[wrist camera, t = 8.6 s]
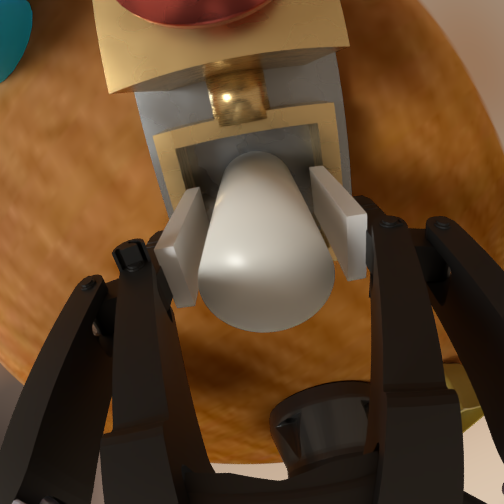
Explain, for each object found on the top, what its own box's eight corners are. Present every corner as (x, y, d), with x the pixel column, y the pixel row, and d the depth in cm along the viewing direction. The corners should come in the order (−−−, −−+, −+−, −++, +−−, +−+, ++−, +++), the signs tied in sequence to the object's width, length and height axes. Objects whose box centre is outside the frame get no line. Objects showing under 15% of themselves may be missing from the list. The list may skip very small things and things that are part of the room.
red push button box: (349, 245, 22) (409, 359, 12) (192, 272, 22) (163, 396, 13) (304, -52, 10) (355, -145, 1) (119, -14, 11) (20, -70, 2)
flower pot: (397, 394, 34) (415, 448, 26) (434, 352, 29) (463, 410, 22) (437, 391, 35) (457, 437, 27) (472, 352, 31) (499, 401, 23)
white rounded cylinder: (296, 212, 19) (335, 321, 10) (229, 223, 19) (217, 339, 11) (287, 145, 17) (331, 209, 8) (214, 158, 17) (180, 235, 9)
